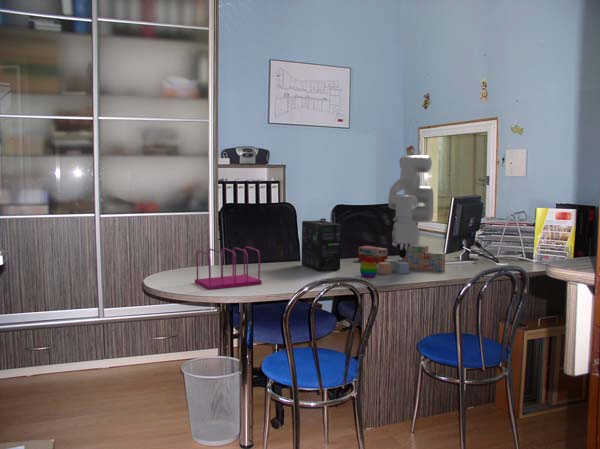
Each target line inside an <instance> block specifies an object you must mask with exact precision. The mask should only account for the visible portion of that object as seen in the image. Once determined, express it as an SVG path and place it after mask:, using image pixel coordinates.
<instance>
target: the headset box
mask: <svg viewBox="0 0 600 449" xmlns="http://www.w3.org/2000/svg"><path fill="white" fill-rule="evenodd" d="M326 220H327V218H323V217H321V218H320V219H319V220H302V221H301V263H300V264H301V265H302V266H305V267H308V268H310V269H313V270H316V271H318V272H320V273H321V272H335V271H339V270H341V241H342V240H341V238H342V237H341V236H342V224H341V223H337V222H336V223H335V222H332V221H326Z"/></svg>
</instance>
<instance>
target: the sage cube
mask: <svg viewBox="0 0 600 449" xmlns="http://www.w3.org/2000/svg"><path fill="white" fill-rule="evenodd" d="M385 262H388V263H391V271H395V268H396V262H399V260H397V259H394V258H391V259H390V258H389V259H388V258H387V259H386V260H385Z"/></svg>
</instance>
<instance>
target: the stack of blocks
mask: <svg viewBox="0 0 600 449" xmlns="http://www.w3.org/2000/svg"><path fill="white" fill-rule="evenodd" d="M402 246H403V245H402ZM401 262H407V263H409V269H412V270H413V269H414V270H415V269H416V270H425V271H435V272H436V271H437V272H440V273H442V272H444V271H445V270H446V252H441V251H440V252H439V251H429V245H425V244H424V245H423V244H422V245H421V244H419V245H412V246H409V247H408V248H407V250H406V256H405V258H402V261H401Z"/></svg>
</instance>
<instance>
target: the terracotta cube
mask: <svg viewBox="0 0 600 449" xmlns="http://www.w3.org/2000/svg"><path fill="white" fill-rule="evenodd" d="M377 269H378V273H380V274H390V275H392V274H391V263H388V262H378V264H377Z"/></svg>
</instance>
